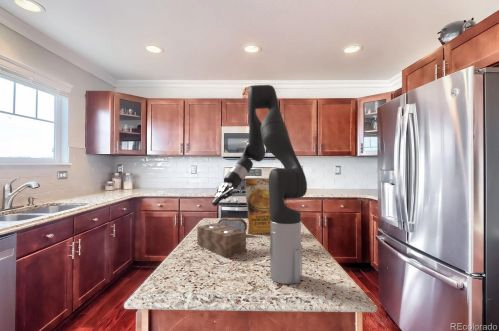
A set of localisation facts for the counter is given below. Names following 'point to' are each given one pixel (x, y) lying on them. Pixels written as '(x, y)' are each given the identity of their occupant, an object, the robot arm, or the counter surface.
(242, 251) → the collar block
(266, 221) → the pancake mix bag
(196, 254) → the counter surface
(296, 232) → the robot arm
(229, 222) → the tin
